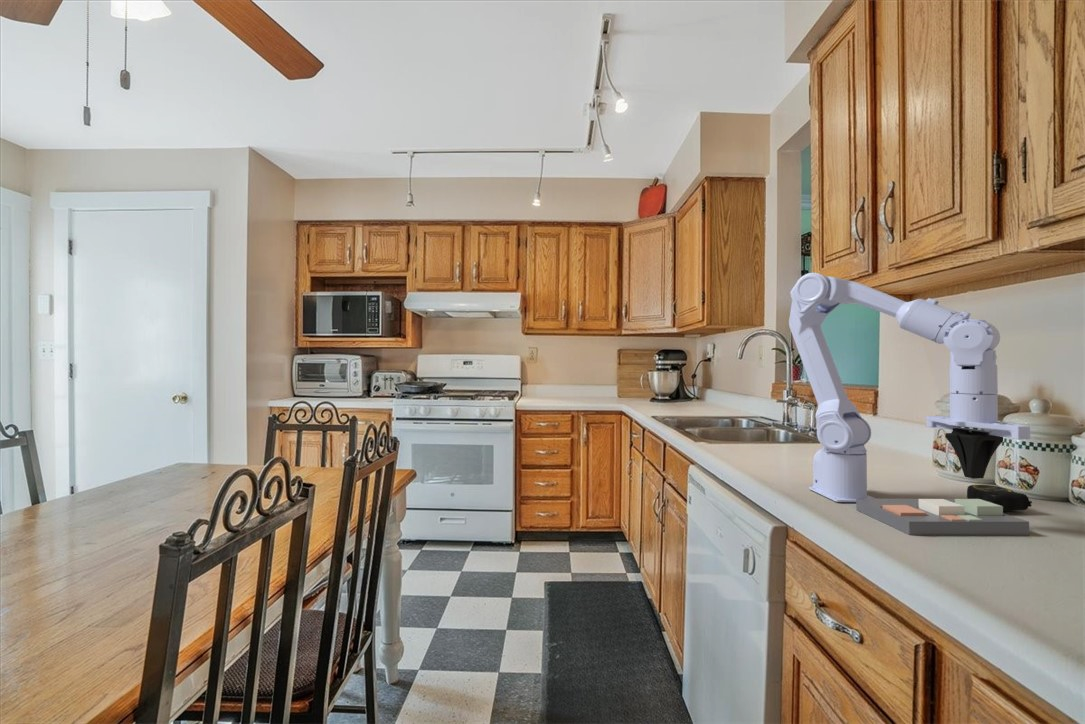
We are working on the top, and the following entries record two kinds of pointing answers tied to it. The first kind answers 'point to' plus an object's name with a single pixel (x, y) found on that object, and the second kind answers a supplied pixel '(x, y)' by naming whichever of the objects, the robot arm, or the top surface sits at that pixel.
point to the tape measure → (999, 497)
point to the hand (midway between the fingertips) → (974, 477)
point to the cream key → (941, 507)
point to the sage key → (980, 507)
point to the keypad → (941, 520)
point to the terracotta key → (904, 510)
